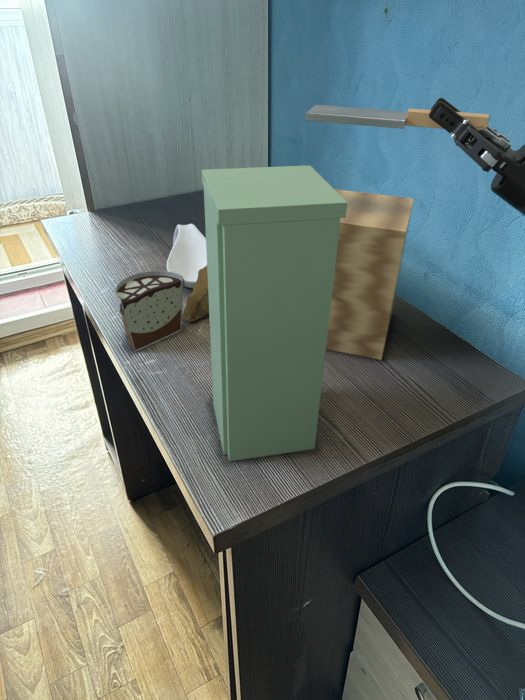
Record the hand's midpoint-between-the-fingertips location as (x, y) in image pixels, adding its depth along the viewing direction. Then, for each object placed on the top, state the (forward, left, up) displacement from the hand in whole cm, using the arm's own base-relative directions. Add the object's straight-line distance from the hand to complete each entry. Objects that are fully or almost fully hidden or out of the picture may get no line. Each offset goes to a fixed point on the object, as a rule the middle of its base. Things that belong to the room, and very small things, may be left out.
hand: (434, 106), depth 67 cm
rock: (+30, +13, -36) cm, 49 cm away
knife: (+4, +2, -2) cm, 5 cm away
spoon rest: (+43, +3, -36) cm, 56 cm away
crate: (+8, +3, -36) cm, 37 cm away
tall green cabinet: (+4, +30, -36) cm, 47 cm away
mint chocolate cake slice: (+32, +25, -36) cm, 54 cm away
